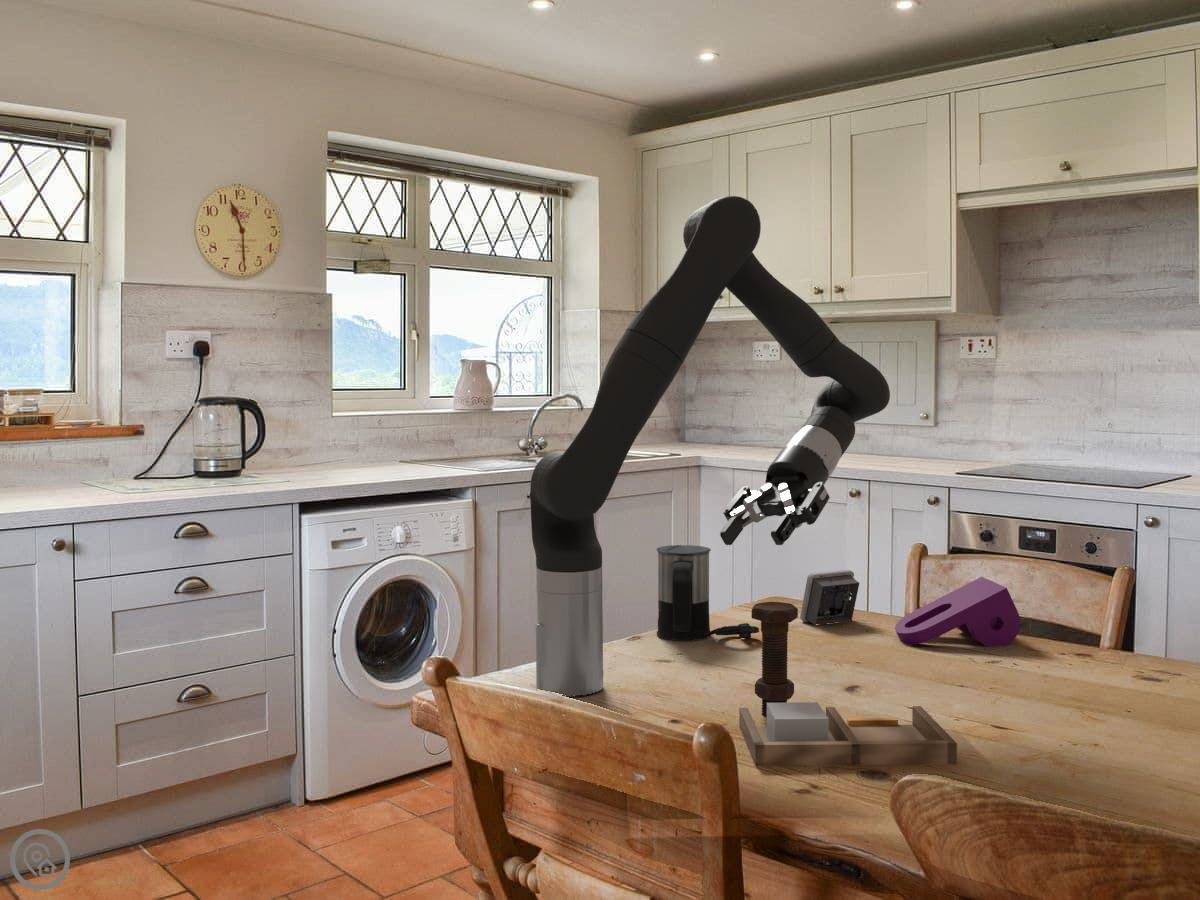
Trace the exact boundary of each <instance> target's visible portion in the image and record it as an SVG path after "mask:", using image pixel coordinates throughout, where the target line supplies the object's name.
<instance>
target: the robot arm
mask: <svg viewBox="0 0 1200 900" xmlns="http://www.w3.org/2000/svg"><path fill="white" fill-rule="evenodd" d="M761 225H762V224H761V219H760V215H759V212H758V210H757V208H756V207H755V205H754V204H753V203H752V202H751V201H750V200H748V199H746V198H744V197H742V196H736V195H729V196H728V195H727V196H721V197H719V198H716V199H714V200H713V199H712V200H711V201H709V202H707V204H704V205H703V206H701V207H699V208H698V209H696V210H695V211H694V212H692V213H691V214H690V215H689V217H688V218H687V220H686V221H685V223H684V228H683V233H682V237H683V243H684V247H685V249H686V251H685V253H684V254H683V257H682V258H681V260H680V261H679V264H678V265H677V266H676V268H675V269H674V271H673V273H672V274H671V275H670V276H669V278H667V280H666V281H665V282H664V283H663V284H662V285H661V287H660V288H659V289H658V290H657V291H656V292H655V293H654V294H653V295H652V296H651V297H650V299H649V300H648V301H647V302H646V304H645V305H644V306H643V307H642V308H641V309H640V310H639V312H638V313H637V314H636V315H635V317H634V318H633V319H632V320H631V322H630V323H629V325H628V326H627V328H626V329H625V331H624V333H623V334H622V336H621V338H620V339H619V341H618V343H617V344H616V346H615V348H614V349H613V352H612V353H611V355H610V357H609V359H608V361H607V363H606V366H605V367H604V371H603V373H602V376H601V379H600V383H599V388H598V390H597V394H596V398H595V400H594V404H593V406H592V409H591V411H590V414H589V416H588V417H587V419H586V421H585V422H584V424H583V426H582V427H581V429H580V430H579V432H578V433H577V435H576V436H575V438H574V439H573V440H572V442H571V443H570V444H569V445H568V447H567V448H566V449H565V450H557V451H552V452H550V453H548V454H546V455H544V456H543V457H542V458H540V460H539V461H538V462H537V463H536V465H535V467H534V469H533V471H532V474H531V479H530V489H529V490H530V492H529V493H530V495H529V498H530V503H529V504H530V521H531V522H530V524H531V525H530V526H531V527H530V528H531V539H532V546H533V549H534V554H535V568H536V569H535V571H536V572H535V573H536V575H535V578H536V579H535V581H536V585H535V586H536V588H535V589H536V624H535V662H536V663H535V664H536V665H535V667H536V668H535V669H536V670H535V671H536V673H535V676H536V677H535V678H536V680H535V681H536V682H535V683H536V684H535V685H536V690H537V689H540V690H545V691H550V692H555V693H559V694H563V695H566V696H565V697H572V696H571V695H583V696H587V694H589V695H593V694H595V692H596V693H598V692H599V691H601V690H602V689H604V630H603V629H604V627H603V626H604V625H603V624H604V621H603V618H604V617H603V611H604V609H603V549H602V546H601V544H600V541H599V539H598V536H597V532H596V527H595V514H596V513H597V512H598V511H599V510H600V509H601V508H602V506H604V504H605V502H606V500H607V499H608V496H609V494H610V492H611V490H612V488H613V486H614V484H615V481H616V479H617V477H618V475H619V473H620V470H621V468H622V467H623V465H624V462H625V460H626V458H627V456H628V454H629V452H630V450H631V449H632V445H634V443H635V440H636V439H637V437H638V436H639V434H640V432H641V431H642V430H643V428H644V426H645V425H646V424H647V422H648V420H649V419H650V417H651V416H652V414H653V412H654V411H655V410H656V407H657V406H658V404H659V402H660V401H661V399H662V397H663V396H664V395H665V394H666V392H667V390H668V389H669V387H670V385H671V384H672V382H673V381H674V379H675V377H676V375H677V373H679V370H680V369H681V367H682V366H683V364H684V362H685V360H686V359H687V356H688V354H689V353H690V351H691V349H692V347H693V345H694V343H695V342H696V341H697V338H698V337H699V335H700V333H701V331H702V329H703V328H704V327H705V323H706V322H707V321H708V319H709V316H710V314H711V312H712V310H713V309H714V307H715V305H716V303H717V301H718V300H719V298H720V296H721V295H722V293H723V292H724V291H725V289H727V290H728V291H729V292H730V293H731V294H732V295H733V296H734V297H735V298H737V300H739V302H740V303H742V304H743V305H744V306H745V307H746V309H748V311H750V313H752V314H753V316H754V317H755V318H756V319H757V320H758V321H759V322H760V323H761V324H762V325H763V327H764V328H765V329H766V330H767V331H768V333H769V334H771V336H772V338H774V339H775V340H776V342H777V343H778V345H779V346H780V347H781V349H783V350H784V351H785V353H786V354H787V355H788V356H789V358H790V359H791V360H792V361H793V362H794V364H795V365H796V366H797V367H798V368H799V370H800V371H801V372H802V373H803V374H804V375H805V376H807V377H808V378H821V377H824V378H825V377H827V378H830V379H832V381H829V382H828V383H827V384H826V385H824V386H823V388H821V389H820V391H819V392H818V393H817V396H816V398H815V401H814V403H813V406H812V409H811V412H810V416H809V417H808V418H807V419H806V421H804V423H803V425H802V426H801V427H800V428H799V430H798V431H797V432H796V433H795V434H793V436H792V437H791V438H790V439H789V440H788V441H787V443H785V445H784V447H783V448H782V449H781V450H780V451H779V453H778V454H777V456H776V457H775V459H774V460H773V461H772V462H771V464H770V465H769V467H768V468H767V470H766V475H765V476H766V477H765V483H763V484H762V485H761V486H760V487H758V488H757V489H756V490H753V489H752V490H751V488H750V487H749V485H744V486H742V487H741V488H740V489H739V491H737V493H736V494H735V495H734V496H733V497H732V499H731V500H730V501H729V502H728V504H727V505H726V506H725V507H724V508H723V510H721V511H722V514H723V515H724V517H725V518H726V521H727V522H726V523H725V524H724V526H723V527H722V528H721V530H720V532H719V535H720V538H721V540H722V542H723V543H724V545H725V546H732V545H733V543H735V541H736V540H737V538H738V536H739V535H740V534H741V533H742V531H743V530H744V528H745V527H748V525H750V524H752V523H760V522H762V521H763V520H765V519H767V518H768V517H773V516H777V517H780V519H779V520H778V521H777V523H776V524H775V526H774V527H773V529H772V530H771V532H770V537H771V539H772V540H773V542H774V545H776V546H783V545H784V543H785V542H786V541H787V540H788V539H789V538H791V535H792V534H793V533H794V531H795V530H796V529H798V528H800V527H801V526H802V525H803V524H805V523H806V524H807V525H809V526H810V525H813V524H815V523H816V521H817V520H818V518H819V517H820V515H821V513H822V511H823V510H824V508H825V506H826V505H827V503H828V501H829V500H830V498H831V496H830V494H829V492H828V491H827V489H826V486H825V484H826V483H827V482H828V480H829V479H830V477H831V475H833V473H834V471H835V469H836V467H837V465H838V464H839V461H840V460H841V458H842V457H843V455H844V454H845V452H846V451H847V450H848V448H849V446H850V445H851V443H852V442H853V440H854V438H855V434H856V426H855V423H856V422H859V421H861V420H863V419H866V418H868V417H871V416H874V415H876V414H879V413H880V412H882V411H883V410H885V409H886V408H887V406H888V405H889V402H890V397H891V391H890V387H889V384H888V382H887V379H886V378H885V376H884V375H883V373H882V372H881V371H880V370H879V369H878V368H877V367H876V366H875V365H873V364H872V363H871V362H870V361H868V360H867V359H866V358H864V357H862V356H861V355H860V354H858V353H857V352H855V351H854V350H853V349H852V348H850V347H848V346H847V345H845V344H844V343H843V342H842V341H840V340H839V338H838V337H837V336H836V335H835V333H834V332H833V330H832V329H831V328H830V327H829V326H828V325H827V324H826V322H825V320H823V318H822V317H821V316H820V315H819V314H818V313H817V311H816V310H814V309H813V308H812V306H810V305H809V304H808V303H807V302H806V301H805V300H804V299H802V298H801V297H800V296H798V295H797V294H796V293H795V292H793V291H792V290H791V289H789V288H788V287H787V286H785V285H784V284H783V283H781V281H779V280H778V279H777V278H776V277H774V276H773V275H772V273H770V272H769V271H768V270H767V269H766V268H765V266H764V265H763V264H762V263H761V262H760V261H759V260H758V258H757V257H756V255H755V254H754V252H753V251H754V250H755V249H756V247H757V245H758V243H759V239H760V236H761V228H762V227H761ZM755 503H756V505H757V507H758V509H759V511H760V512H758V513H757V512H756V510H755V508H754V506H755V505H754V504H755ZM746 513H748V515H747V517H745V518H743V517H744V516H745V515H746ZM592 693H593V694H592Z"/></svg>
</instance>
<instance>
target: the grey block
mask: <svg viewBox="0 0 1200 900" xmlns="http://www.w3.org/2000/svg"><path fill="white" fill-rule="evenodd" d="M766 726H767V738H768V740H769V742H802V741H829V718H828V717H827V716H826V712H825V710H823V708H822V706H821V705H820V704H819V702H818V701H817V702H816V701H814V702H812V701H811V702H810V701H808V702H807V701H806V702H804V701H803V702H801V701H800V702H798V701H797V702H787V703H767V717H766Z"/></svg>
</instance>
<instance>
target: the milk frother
mask: <svg viewBox="0 0 1200 900" xmlns="http://www.w3.org/2000/svg"><path fill="white" fill-rule="evenodd" d="M656 551H657V555H658V557H657V558H658V561H657V562H658V563H657V565H658V566H657V568H658V569H657V570H658V571H657V574H658V575H657V578H658V579H657V580H658V581H657V583H658V584H657V585H658V587H657V590H658V591H657V593H658V594H657V595H658V597H657V598H658V600H657V602H658V603H657V604H658V605H657V609H658V611H657V612H658V614H657V615H658V617H657V631H656V636H658V637H659V638H662V639H664V640H671V641H682V642H685V641H686V642H688V641H689V642H691V641H692V640H694V641H700V639H702V640H704V638H705V639H708V638H710V637H711V636H712V635H715V636H737V635H738V636H739V639H740V638H749V639H751V638H752V634H757V633H758V634H759V633H760V628H759V627H758V626H756V625H753V626H752V625H750V623H748V622H746V623H745V622H744V623H738V625H728V626H726V625H725V626H722V627H718V628H715V629H712V630H711V629H710V627H711V626H710V552H711V551H712V549H711V548H710V547H708V546H704V545H703V546H701V545H693V544H690V545H689V544H687V545H685V544H684V545H682V544H680V545H679V544H676V545H673V544H672V545H664V546H663V545H662V546H660V547H656ZM710 635H711V636H710ZM709 636H710V637H709ZM707 637H708V638H707ZM692 642H693V641H692Z"/></svg>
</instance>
